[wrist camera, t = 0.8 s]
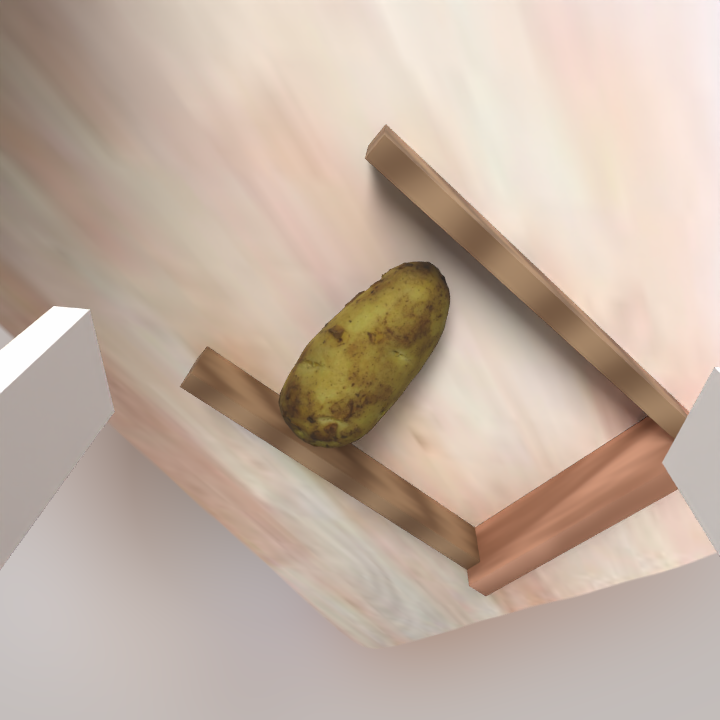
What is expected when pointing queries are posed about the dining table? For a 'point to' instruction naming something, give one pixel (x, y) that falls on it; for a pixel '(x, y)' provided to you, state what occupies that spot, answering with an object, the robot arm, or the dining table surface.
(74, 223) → the dining table surface
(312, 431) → the potato
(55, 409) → the robot arm
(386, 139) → the channel
